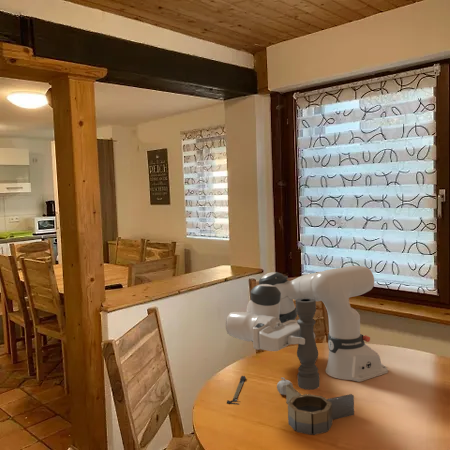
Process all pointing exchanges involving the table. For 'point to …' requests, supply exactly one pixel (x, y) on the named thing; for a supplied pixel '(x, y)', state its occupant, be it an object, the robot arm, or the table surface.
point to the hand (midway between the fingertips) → (309, 338)
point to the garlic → (283, 386)
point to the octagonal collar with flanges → (316, 411)
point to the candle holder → (307, 345)
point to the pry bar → (237, 391)
